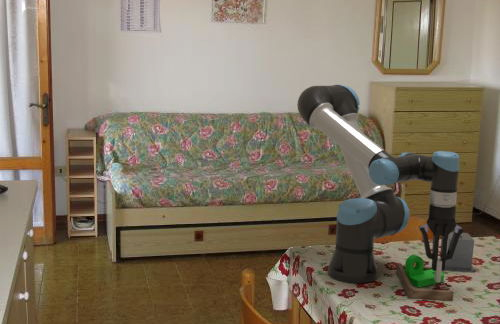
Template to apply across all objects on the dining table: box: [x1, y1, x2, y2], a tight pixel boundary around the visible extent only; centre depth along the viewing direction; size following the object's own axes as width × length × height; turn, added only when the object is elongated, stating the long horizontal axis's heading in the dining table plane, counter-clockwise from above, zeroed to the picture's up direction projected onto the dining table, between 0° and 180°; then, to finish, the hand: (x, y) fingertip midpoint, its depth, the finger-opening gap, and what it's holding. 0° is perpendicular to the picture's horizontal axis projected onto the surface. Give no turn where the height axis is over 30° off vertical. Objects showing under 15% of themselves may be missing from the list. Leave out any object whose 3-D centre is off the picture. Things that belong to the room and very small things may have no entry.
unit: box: [444, 231, 476, 273], centre depth 219 cm, size 10×10×11 cm
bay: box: [396, 262, 455, 301], centre depth 201 cm, size 13×21×3 cm, turn 176°
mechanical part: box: [404, 254, 445, 288], centre depth 204 cm, size 12×6×8 cm, turn 118°
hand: (437, 280), depth 200 cm, fingers closed
